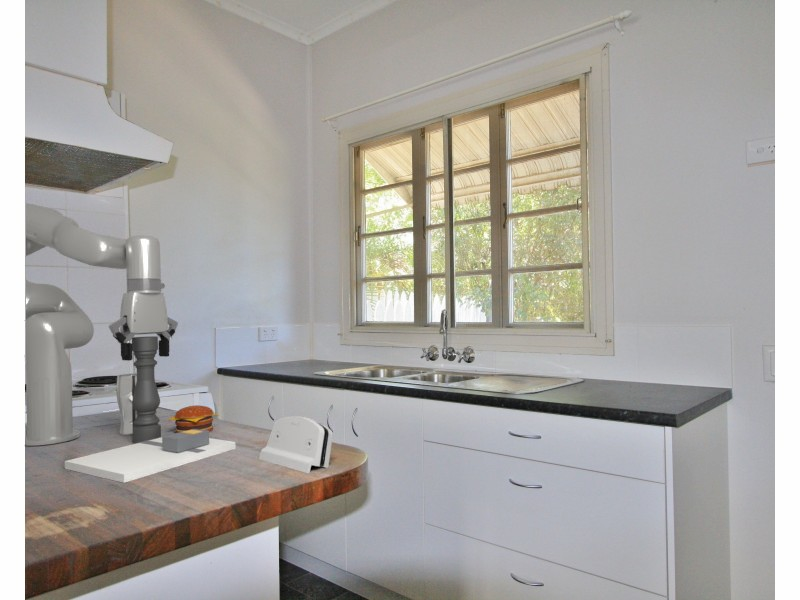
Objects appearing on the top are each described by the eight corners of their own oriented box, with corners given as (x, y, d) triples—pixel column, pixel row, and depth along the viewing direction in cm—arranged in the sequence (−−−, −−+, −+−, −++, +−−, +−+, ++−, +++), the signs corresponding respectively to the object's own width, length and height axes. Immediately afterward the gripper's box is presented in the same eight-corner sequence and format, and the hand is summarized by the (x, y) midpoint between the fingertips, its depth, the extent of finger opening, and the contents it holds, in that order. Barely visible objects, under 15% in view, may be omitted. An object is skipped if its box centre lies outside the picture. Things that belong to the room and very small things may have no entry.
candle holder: (155, 436, 134) (153, 336, 134) (165, 440, 130) (162, 336, 130) (128, 441, 130) (126, 337, 130) (138, 445, 125) (135, 338, 126)
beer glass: (135, 436, 135) (134, 376, 135) (111, 435, 137) (110, 376, 137) (153, 429, 142) (152, 372, 142) (130, 429, 143) (129, 373, 144)
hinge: (257, 458, 111) (270, 410, 114) (275, 461, 115) (287, 414, 117) (308, 473, 100) (321, 419, 103) (327, 476, 103) (339, 423, 106)
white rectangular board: (64, 468, 108) (64, 460, 108) (177, 439, 130) (177, 433, 130) (124, 482, 98) (123, 473, 98) (235, 448, 120) (235, 441, 120)
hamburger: (166, 435, 136) (166, 408, 136) (192, 427, 145) (191, 402, 145) (197, 436, 133) (197, 409, 133) (221, 428, 142) (221, 403, 142)
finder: (162, 449, 114) (162, 435, 114) (194, 441, 121) (194, 428, 121) (177, 452, 111) (177, 438, 111) (209, 443, 118) (209, 430, 118)
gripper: (166, 288, 140) (167, 354, 139) (99, 287, 125) (101, 361, 125) (184, 287, 136) (186, 355, 136) (118, 286, 121) (121, 362, 121)
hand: (146, 358), depth 130 cm, fingers open, 9 cm apart
